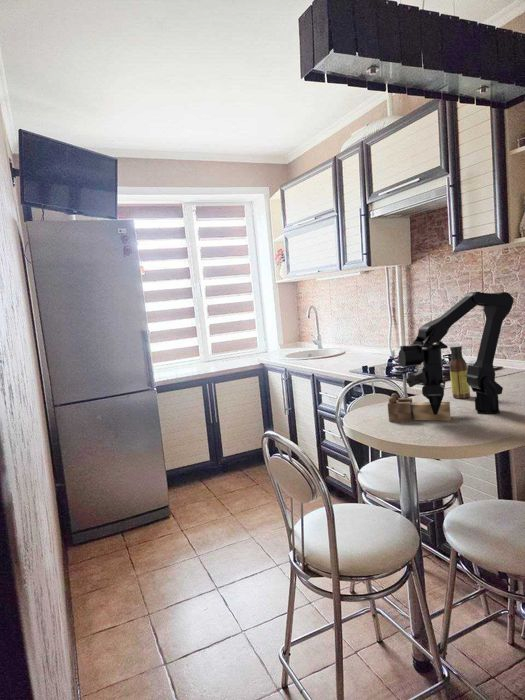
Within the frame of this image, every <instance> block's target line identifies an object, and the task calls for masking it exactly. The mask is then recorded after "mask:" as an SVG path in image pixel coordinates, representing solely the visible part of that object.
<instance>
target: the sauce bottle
mask: <svg viewBox="0 0 525 700" xmlns="http://www.w3.org/2000/svg"><path fill="white" fill-rule="evenodd" d="M449 347H450V348H449V349H450V351H451V352H450V353H451V354H450V355H451V359H450V361H449V362H448V363H449V364H448V365H449V375H450V377H449V378H450V383H451V393H452V397H453V398H454V399H460V398H461V399H468V398H470V396H471V391H470V390H471V387H470V386H469V384H468V383H467V377H465V375H466V374H467V370H468V365H467V361H466V360H465V358H464V356H463V347H462V345H452V346H449Z"/></svg>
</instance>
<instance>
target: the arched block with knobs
mask: <svg viewBox="0 0 525 700" xmlns="http://www.w3.org/2000/svg"><path fill="white" fill-rule="evenodd" d="M411 403H413V398H412V397H408V398H403V397H399V394H397V393H394V392H393V393H392V394H391V396H390V397H389V398H388V402H387V411H388V412H387V413H388V422H412V420H413V419H412V415H411Z"/></svg>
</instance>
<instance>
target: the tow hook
mask: <svg viewBox="0 0 525 700" xmlns="http://www.w3.org/2000/svg"><path fill="white" fill-rule="evenodd" d="M402 378H403V379H402V386H403V387H402V389H403V396H402V398H409V395H408V388H407V387H408V386H407V385H408V384H407V381H406V374H405V373H403V374H402Z"/></svg>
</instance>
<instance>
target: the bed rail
mask: <svg viewBox="0 0 525 700" xmlns="http://www.w3.org/2000/svg"><path fill="white" fill-rule="evenodd" d="M450 404H451V403H450V401H442V402H441V405H440V408H439V411H438V414H437V415H434V414H433V411H432V408H431V405H430V402H429V401H413V402H412V403H411V415H412V420H414V421H451V405H450Z"/></svg>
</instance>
